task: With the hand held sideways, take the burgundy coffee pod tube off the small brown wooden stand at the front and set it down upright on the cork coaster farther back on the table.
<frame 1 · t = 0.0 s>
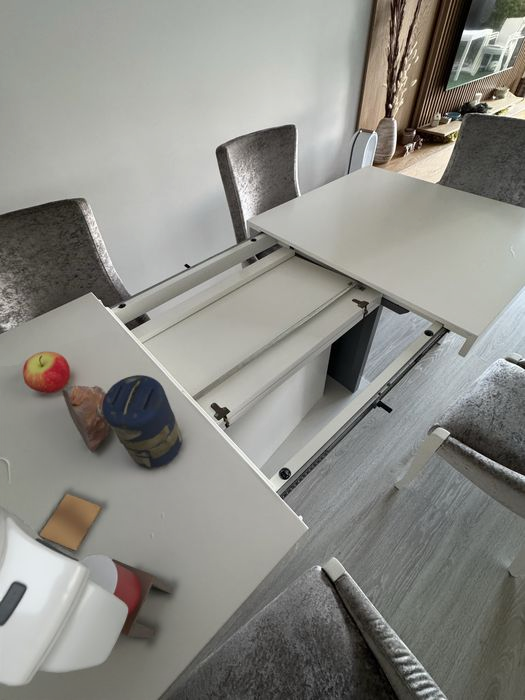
hand: (47, 595, 34), 20 cm above the table, tool pointing down, fingers open, 8 cm apart
stone: (102, 423, 69), on the table
pod tube: (119, 595, 41), point 11 cm above the table, touching brown wooden stand
canister: (158, 446, 65), on the table
coaster: (72, 521, 57), on the table
brown wooden stand: (144, 603, 50), on the table
apple: (57, 385, 75), on the table
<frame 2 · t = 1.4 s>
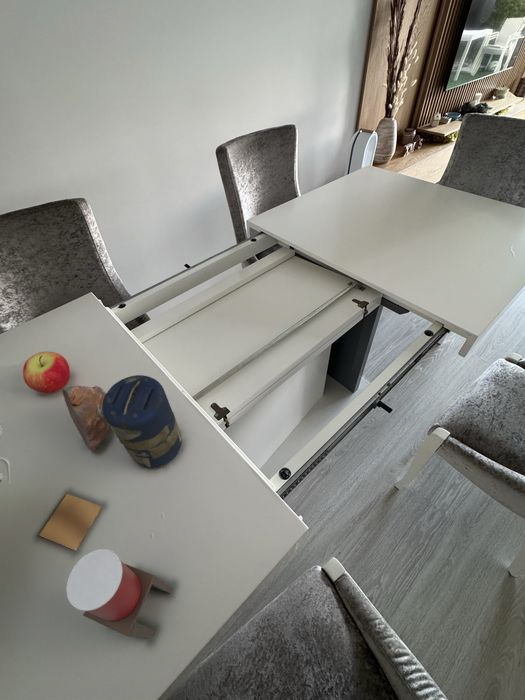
nothing on the table moved.
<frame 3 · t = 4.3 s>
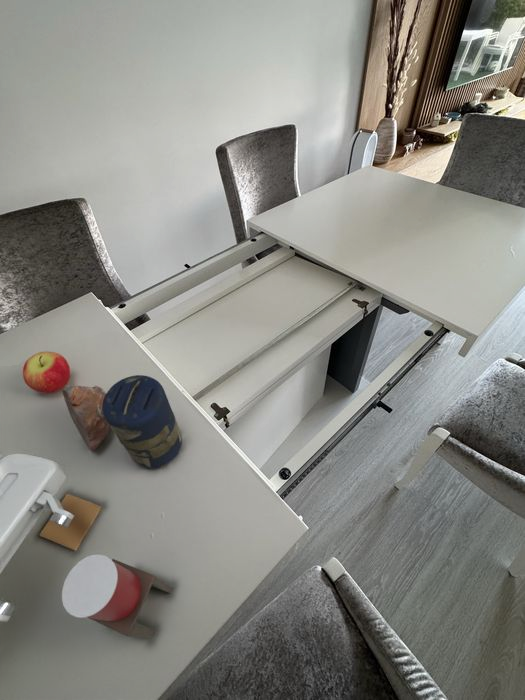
hand: (41, 563, 39), 16 cm above the table, tool horizontal, fingers open, 8 cm apart
nothing on the table moved.
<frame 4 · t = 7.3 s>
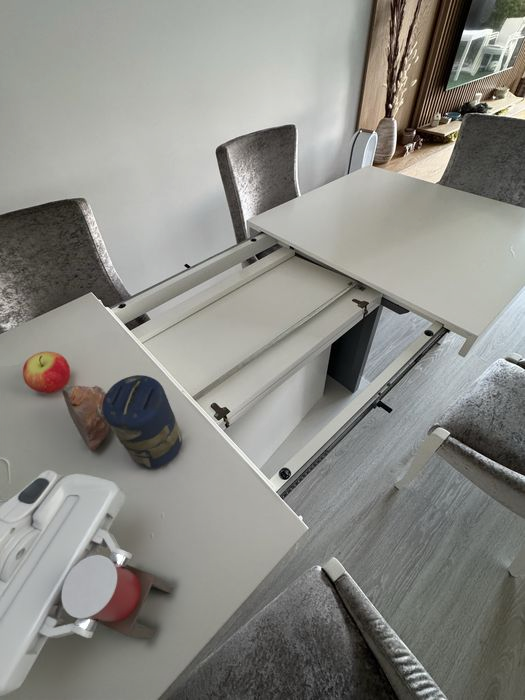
hand: (111, 592, 37), 16 cm above the table, tool horizontal, fingers closed on pod tube, 5 cm apart
pod tube: (119, 595, 41), point 11 cm above the table, touching gripper, brown wooden stand
everything else where it was.
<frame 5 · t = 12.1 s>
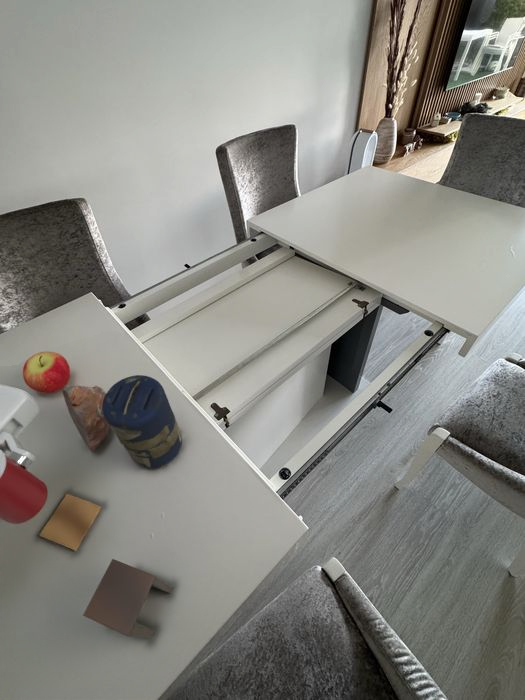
hand: (7, 488, 37), 24 cm above the table, tool horizontal, fingers closed on pod tube, 5 cm apart
pod tube: (25, 500, 41), point 19 cm above the table, touching gripper
everything else where it was.
when the fingers open (6 cm above the table, at t = 17.0 s): pod tube stays where it is, resting on coaster.
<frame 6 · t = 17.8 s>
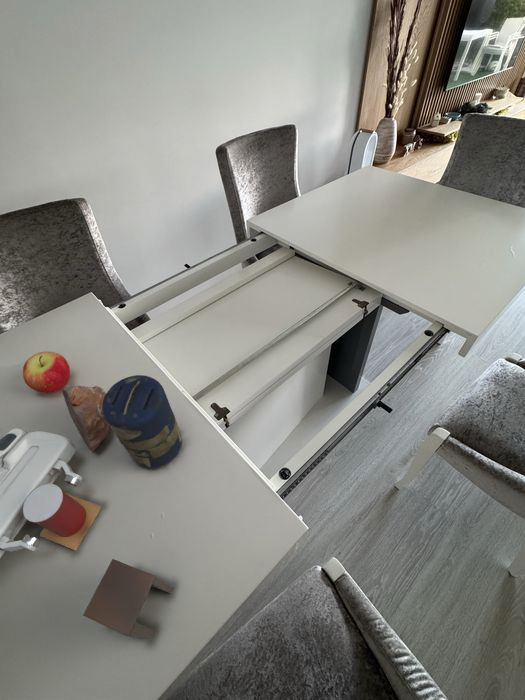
hand: (58, 511, 52), 6 cm above the table, tool horizontal, fingers open, 8 cm apart
pod tube: (70, 520, 56), point 1 cm above the table, touching coaster
everything else where it was.
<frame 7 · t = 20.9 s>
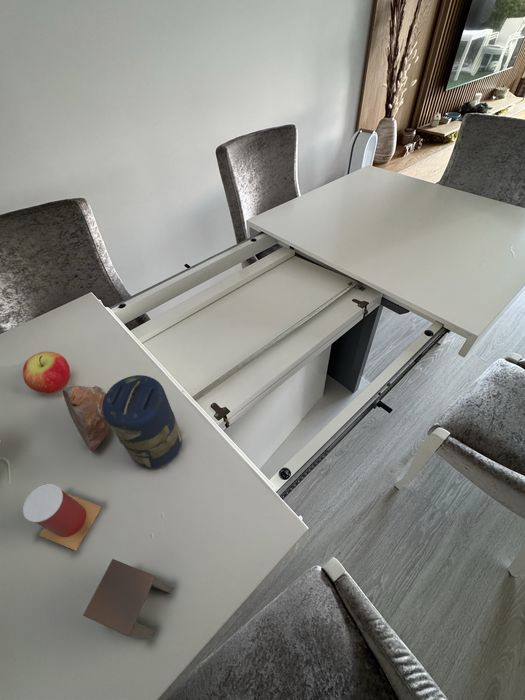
nothing on the table moved.
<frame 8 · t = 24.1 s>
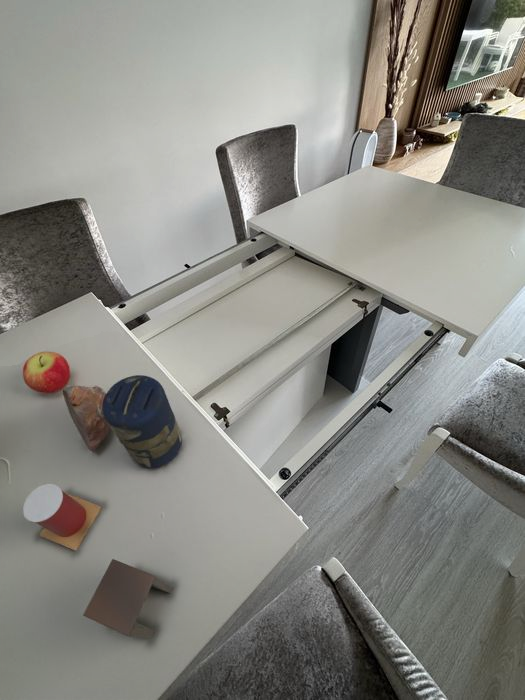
nothing on the table moved.
at the end: pod tube 0.1 cm off-centre on the coaster, point 0.6 cm above the coaster's base; pod tube tilted 0°; the gripper is holding nothing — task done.
